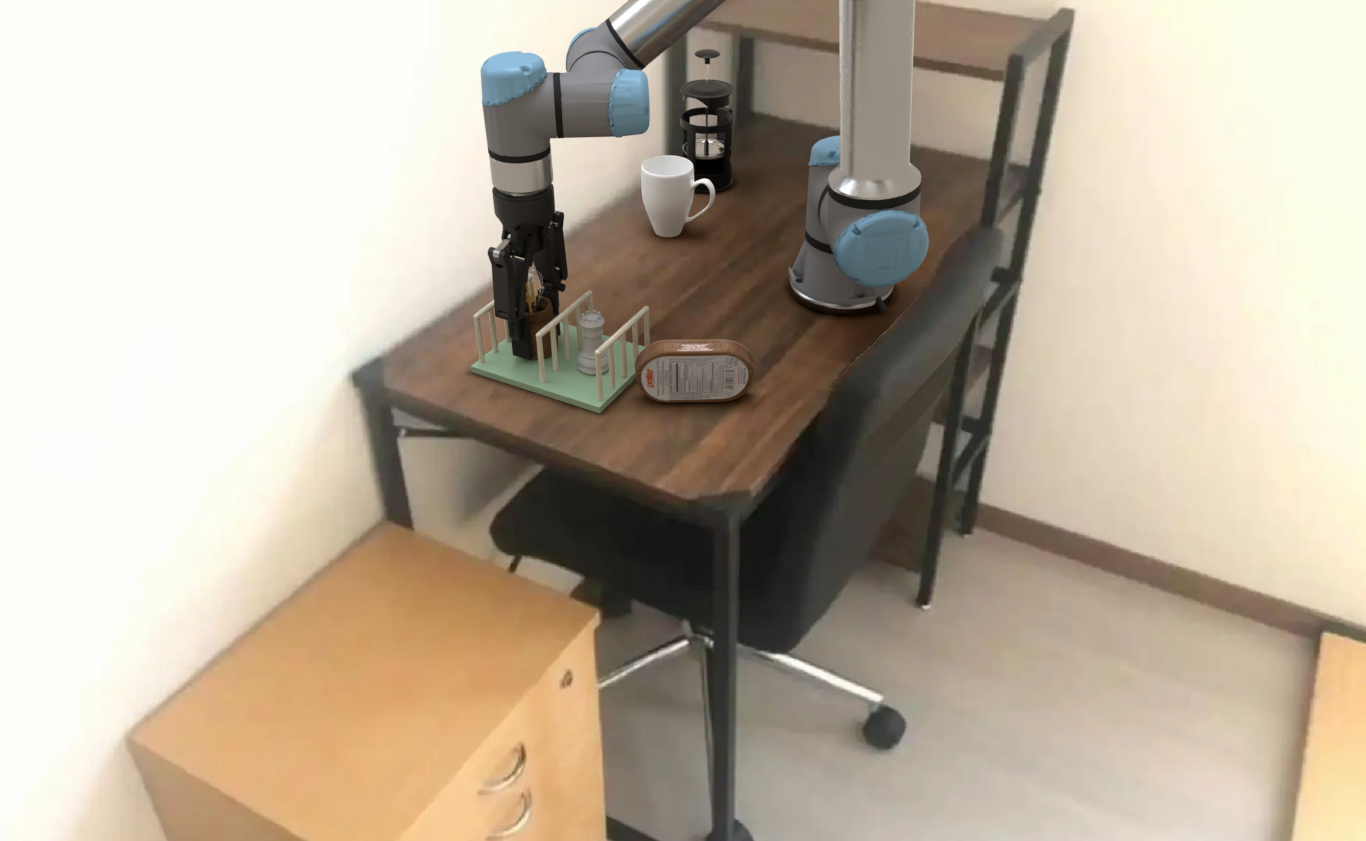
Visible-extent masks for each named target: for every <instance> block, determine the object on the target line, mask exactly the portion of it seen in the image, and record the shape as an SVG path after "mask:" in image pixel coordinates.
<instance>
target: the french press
mask: <svg viewBox="0 0 1366 841" xmlns="http://www.w3.org/2000/svg"><path fill="white" fill-rule="evenodd" d="M720 55H721V52H720V51H718V50H717V49H711V48H703V49H699V50H696V51H695V52H694V56H695V57H697V58H699V59H703V60H704V65H706V66H705V79H704V78H703V79H695V80H689V81H687V82H685V83H683V84H682V85H681V86H680V88H679V89H680V93H681V94H682V101H683V102H684V101H685V100H686V99H688V98H691V99H695V100H698V101H699V102H700V103H702V104H703V105H705V106H701V107H693V108H689V109H687V110H685V111H683V112H682V113H681V114H680V118H679V120H680V122H679V123H680V127H681V128H682V147H681V149H682V157H683V158H686V159H688V160H690V161H691V162H692V164H693V166H694V182H695V181H697V180H700V179H708V180H710V181H711V182H712V184H713V186H714V189H715V194H717V193H721V192H724V191H727V190H729V189H731V187H732V186H733V183H734V179H733V163H732V162H731V157H732V141H733V140H732V139H733V126H734V115H733V108H731V107H727V106H729V105H730V104H731V102H732V95H733V93H734V91H735V88H734V86H733V84H731V83H730V82H727V81H724V80H719V79H709V65H710V64H711V59H715V58H718V57H720ZM696 116H705V125H697V124H692V123H691V118H692V117H696ZM709 116H716V125H709ZM698 134H700V135H705V138H697V135H698ZM714 134H716V138H708V135H714ZM694 194H704V195H706V194H707V195H710V191H709V189H708V187H707V186H706V185H705V184H699V185H698V186H696V187H695V189H694Z"/></svg>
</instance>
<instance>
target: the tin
mask: <svg viewBox="0 0 1366 841" xmlns="http://www.w3.org/2000/svg"><path fill="white" fill-rule="evenodd" d="M644 347H645V346H644ZM754 365H755V363H754V358H753V356H752V353H751V352H750V350H749V349H748V348H747V347H746V345H745V346H744V345H743V344H742V343H740V342H737V341H735V340H732V339H725V338H724V339H722V338H720V339H719V338H718V339H717V338H716V339H661V340H657V341H655V342H651V343H650V345H648V346H647V347H645V348H644V349H643V350H642V351H641V352H640V353H639V355H638V357H637V359H636V363H635V371H636V379H635V380H636V384H637V386H638V388H639V390H640V391H641V392H642V393H643V394H644V395H645V396H646V397H648V398H649V399H650V400H653V401H656V402H659V403H666V404H667V403H668V404H669V403H726V402H731V401H733V400H736V399H739V398H740V397H742V396H744V394H746V393H747V392H748V390H749V389H750V388H751V386H752V385H753V381H754V378H755V369H754V368H755V366H754Z"/></svg>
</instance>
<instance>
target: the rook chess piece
mask: <svg viewBox="0 0 1366 841" xmlns="http://www.w3.org/2000/svg"><path fill="white" fill-rule="evenodd" d="M605 322H606V320H605V318H604V317H603V316H602V312H601V311H597V309H593V310H592V313H589V310H588V309H587V310H585V311H584V312H581V319H580V321H579V323H580V325H581V326H582V329H583V330H582V334H583V336H584V340H583V348H582V350H581V352H580V354H579V356H578V368H579V369H580V370H581V371H582V372H583V373H585V374H587V375H596V363H595V351H596V350H597V349H598V348H599V347H600V346H601V345H602V344H603V339H602V334H603V333H604V329H603V328H602V327H603V325H604V324H605ZM603 335H604V334H603ZM601 369H602V374H603V373H605V372H606V371H608V369H609V358H608V352H607V349H606V350H605V351H604V352H603V353H602V354H601Z"/></svg>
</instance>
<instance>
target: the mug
mask: <svg viewBox="0 0 1366 841" xmlns="http://www.w3.org/2000/svg"><path fill="white" fill-rule="evenodd" d="M699 184H705V185H706V186H707V187H708V189H709V191H710V194H709V202H708V204H707V205H706V206H705V207H704V208H703V209H701V210H700V211H699V212H697V213H696V214H694V215H693V216H689V213H690V210H691V208H692V205H693V201H694V197H695V196H694V195H695V193H694V189H695V187H696V186H698V185H699ZM640 185H641V187H640V188H641V190H640V191H641V197H642V198H641V200H642V204H643V207H644V210H645V213H646V214H647V216H648V219H649V221H650V224H651V226H652V229H653V232H654V233H655V234H656V235H657V236H659V237H662V238H674V237H677V236H679V235H680V234H681V233H682V231H683V228H684V226H685V224H687V223H690V222H692V221H694V220H696V219H697V218H699V217H700V216H702V215H703V214H705V213H707V211H709V209H710V208H711V207H712V206H713V204H714V201H715V198H716V193H715V189H714V186H713V184H712V182H711V181H710V180H708V179H700V180H697V181H695V182H694V166H693V164H692V162H691V161H690V160H688V159H686V158H683V156H681V155H680V156H679V155H671V154H666V155H665V154H664V155H663V154H662V155H657V156H652V157H650V158H648V159H645V160H643V162H642V163H641V166H640Z"/></svg>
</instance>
